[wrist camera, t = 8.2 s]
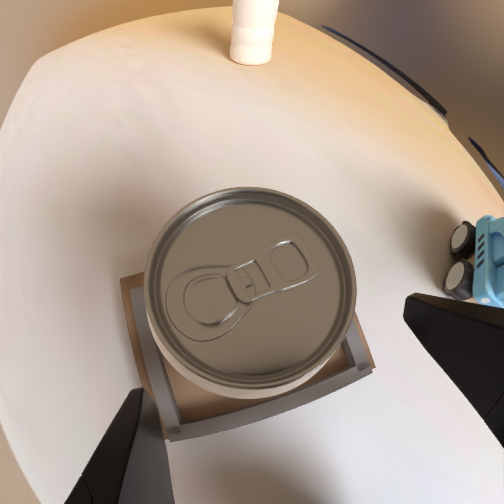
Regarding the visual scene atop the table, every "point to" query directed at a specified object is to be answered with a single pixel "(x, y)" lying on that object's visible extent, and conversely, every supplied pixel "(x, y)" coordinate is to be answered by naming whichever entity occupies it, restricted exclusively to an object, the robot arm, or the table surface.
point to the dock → (217, 406)
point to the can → (249, 292)
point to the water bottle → (253, 31)
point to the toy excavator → (478, 263)
